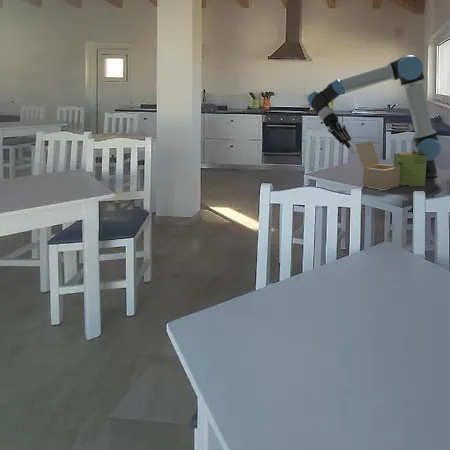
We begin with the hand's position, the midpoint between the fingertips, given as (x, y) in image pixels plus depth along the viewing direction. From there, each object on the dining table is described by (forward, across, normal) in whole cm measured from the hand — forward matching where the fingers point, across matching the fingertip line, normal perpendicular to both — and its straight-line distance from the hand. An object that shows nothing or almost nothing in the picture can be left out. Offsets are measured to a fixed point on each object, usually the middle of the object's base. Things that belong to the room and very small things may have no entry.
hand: (354, 152), depth 327 cm
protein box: (+27, -17, +4) cm, 32 cm away
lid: (+5, -1, +5) cm, 7 cm away
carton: (+23, -1, 0) cm, 23 cm away
